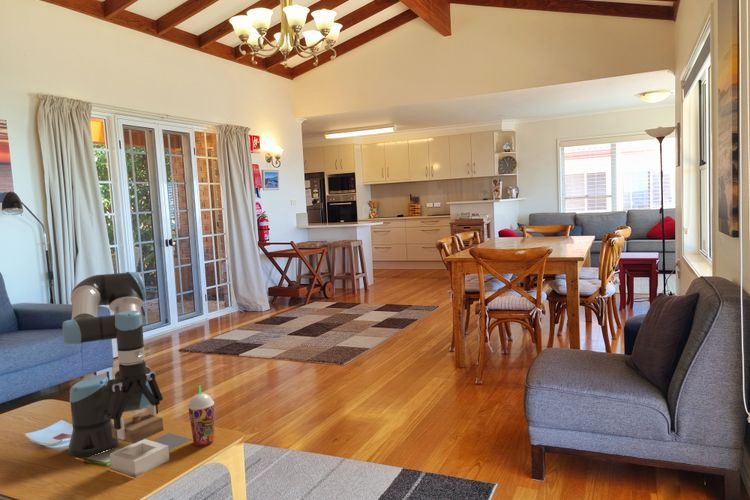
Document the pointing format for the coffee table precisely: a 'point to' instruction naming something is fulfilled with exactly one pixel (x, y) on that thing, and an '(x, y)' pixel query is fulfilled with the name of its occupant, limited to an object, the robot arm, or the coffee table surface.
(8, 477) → the coffee table surface
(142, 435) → the lid
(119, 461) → the dish
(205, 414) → the smoothie
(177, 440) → the mat
